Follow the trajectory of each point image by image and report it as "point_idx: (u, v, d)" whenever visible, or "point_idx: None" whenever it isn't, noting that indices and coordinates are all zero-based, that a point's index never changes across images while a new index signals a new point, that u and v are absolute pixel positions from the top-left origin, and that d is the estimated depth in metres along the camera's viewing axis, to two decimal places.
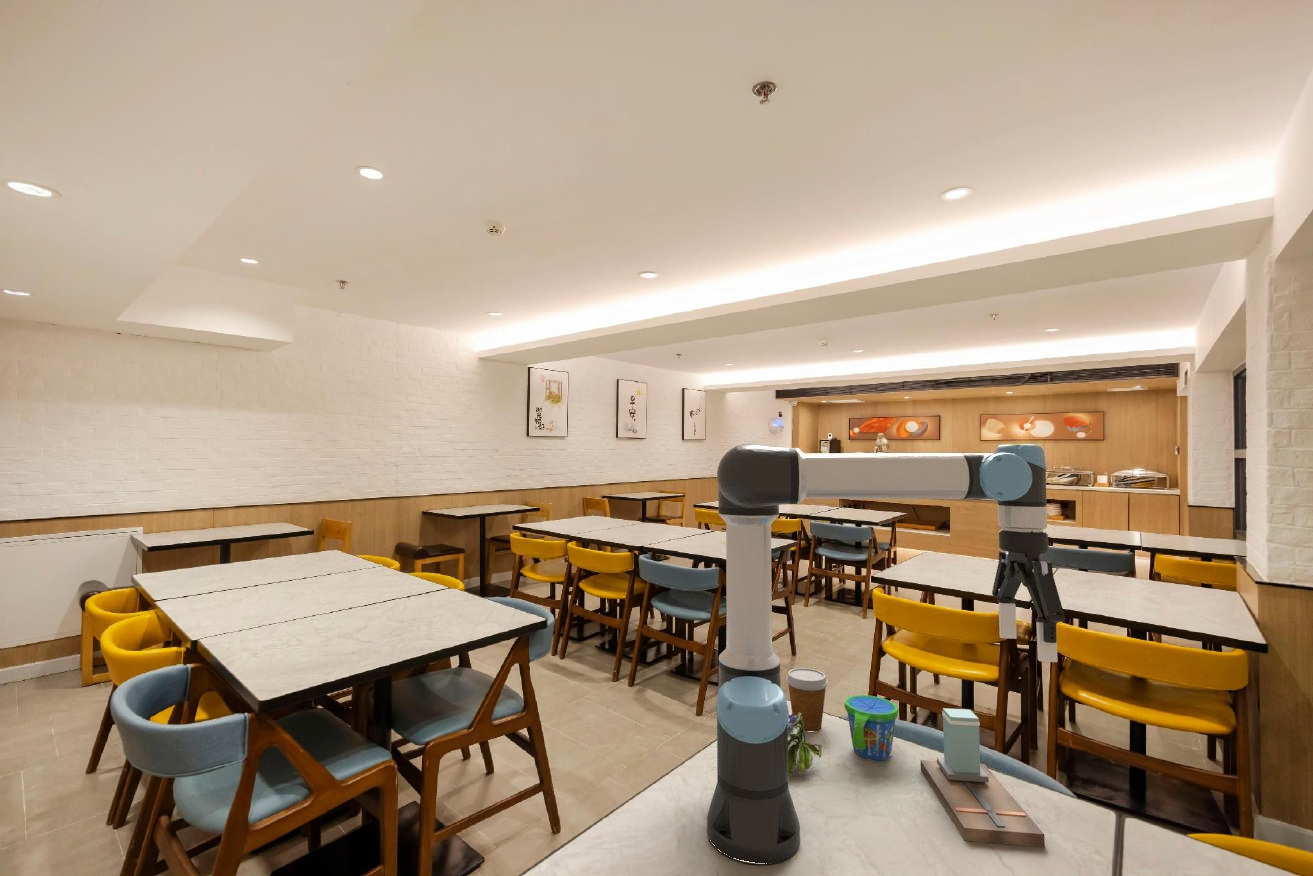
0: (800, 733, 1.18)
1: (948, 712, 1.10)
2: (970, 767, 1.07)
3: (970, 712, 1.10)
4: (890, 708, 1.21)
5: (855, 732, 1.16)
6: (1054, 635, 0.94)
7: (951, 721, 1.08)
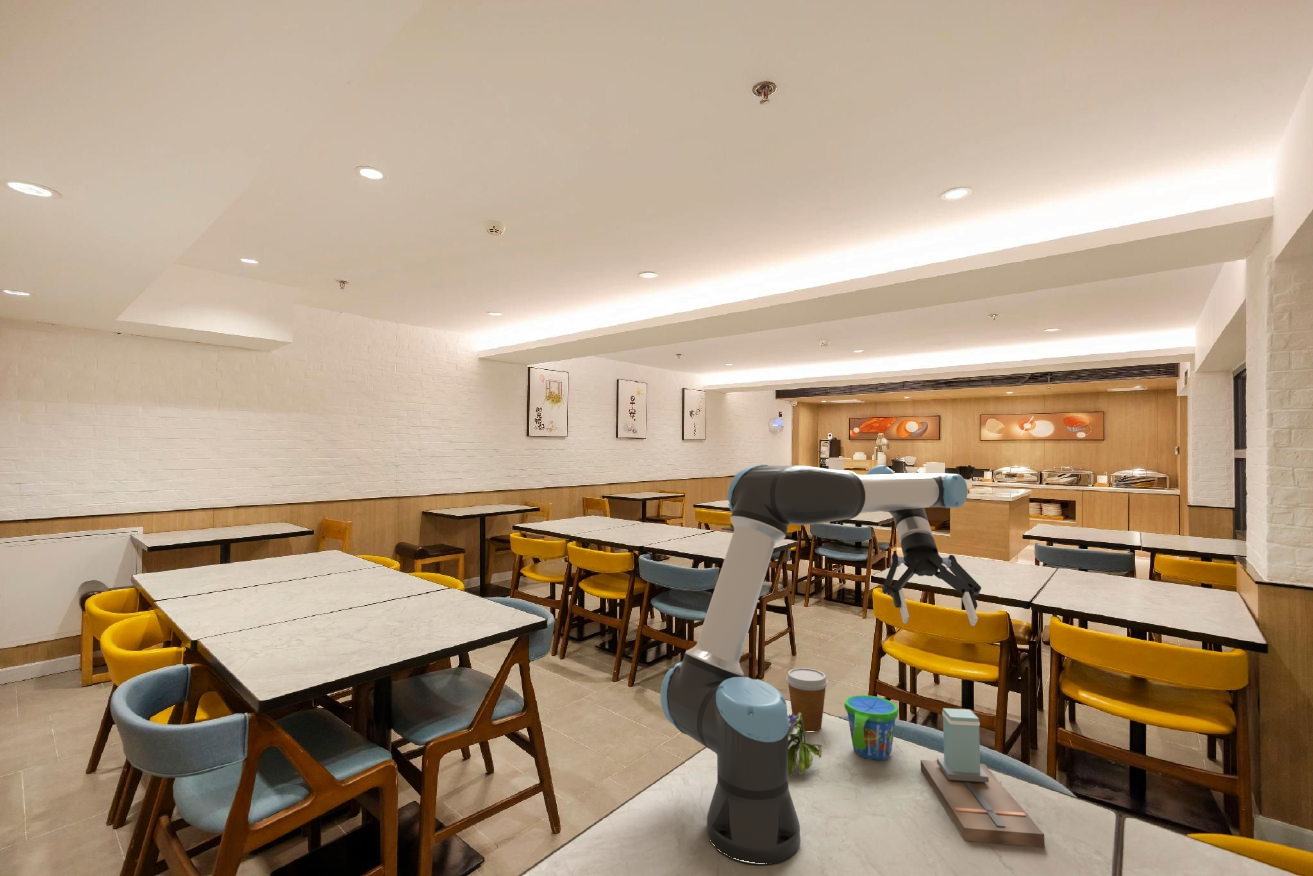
0: (800, 733, 1.18)
1: (948, 712, 1.10)
2: (970, 767, 1.07)
3: (970, 712, 1.10)
4: (889, 708, 1.21)
5: (855, 732, 1.16)
6: None
7: (951, 721, 1.08)
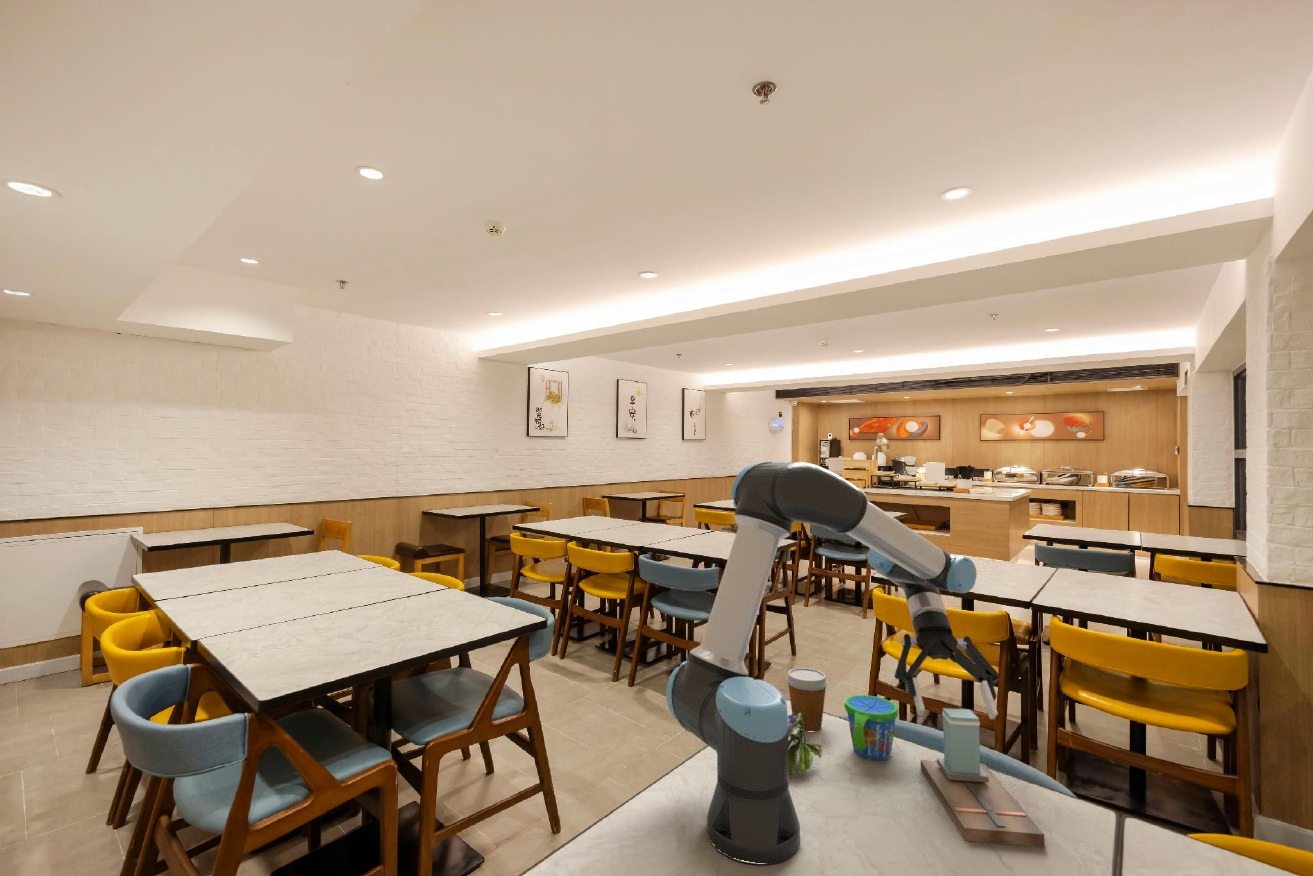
0: (800, 733, 1.18)
1: (948, 712, 1.10)
2: (970, 767, 1.07)
3: (970, 712, 1.10)
4: (889, 708, 1.21)
5: (855, 732, 1.16)
6: None
7: (951, 721, 1.08)
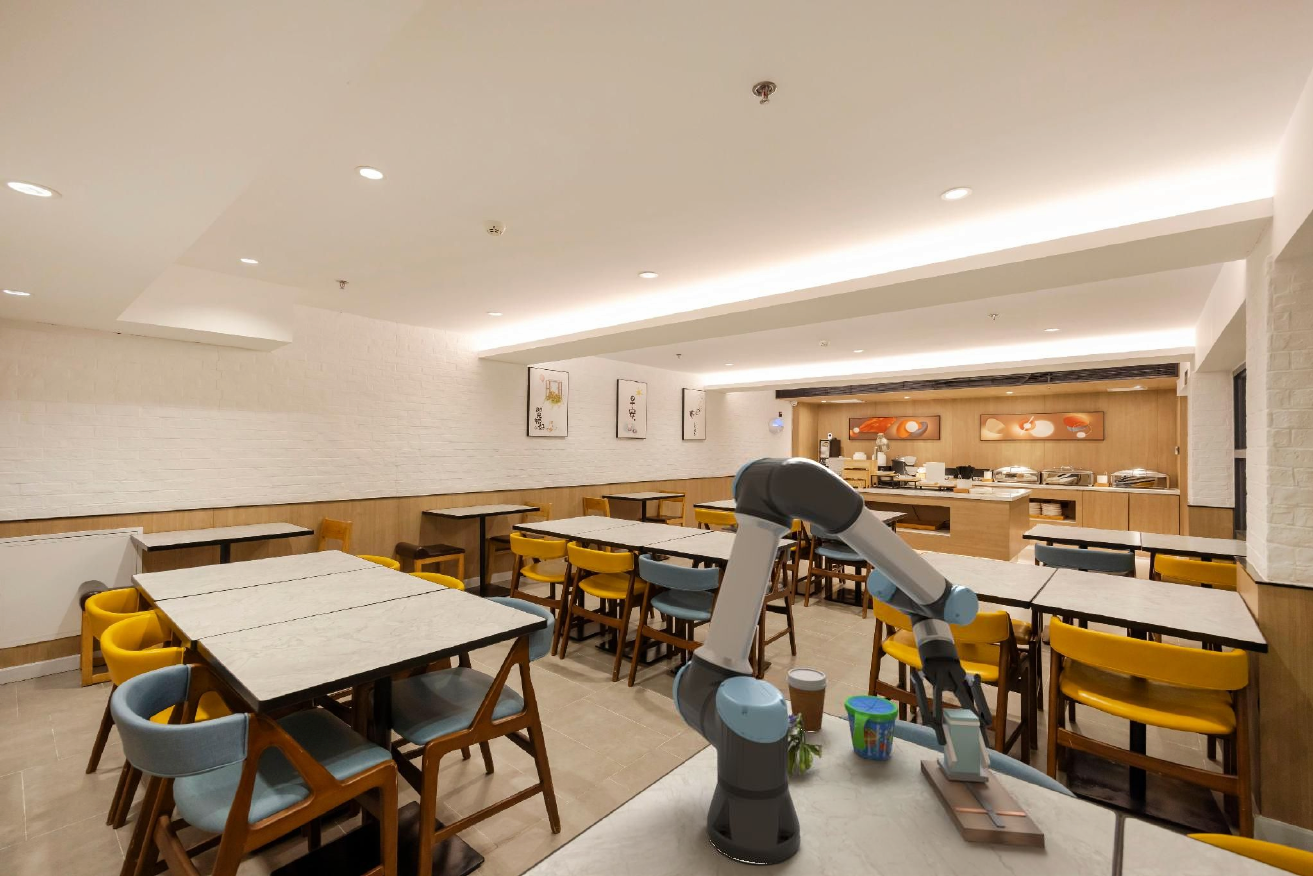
0: (800, 733, 1.18)
1: (948, 712, 1.10)
2: (970, 767, 1.07)
3: (970, 712, 1.10)
4: (890, 708, 1.21)
5: (855, 732, 1.16)
6: None
7: (951, 721, 1.08)
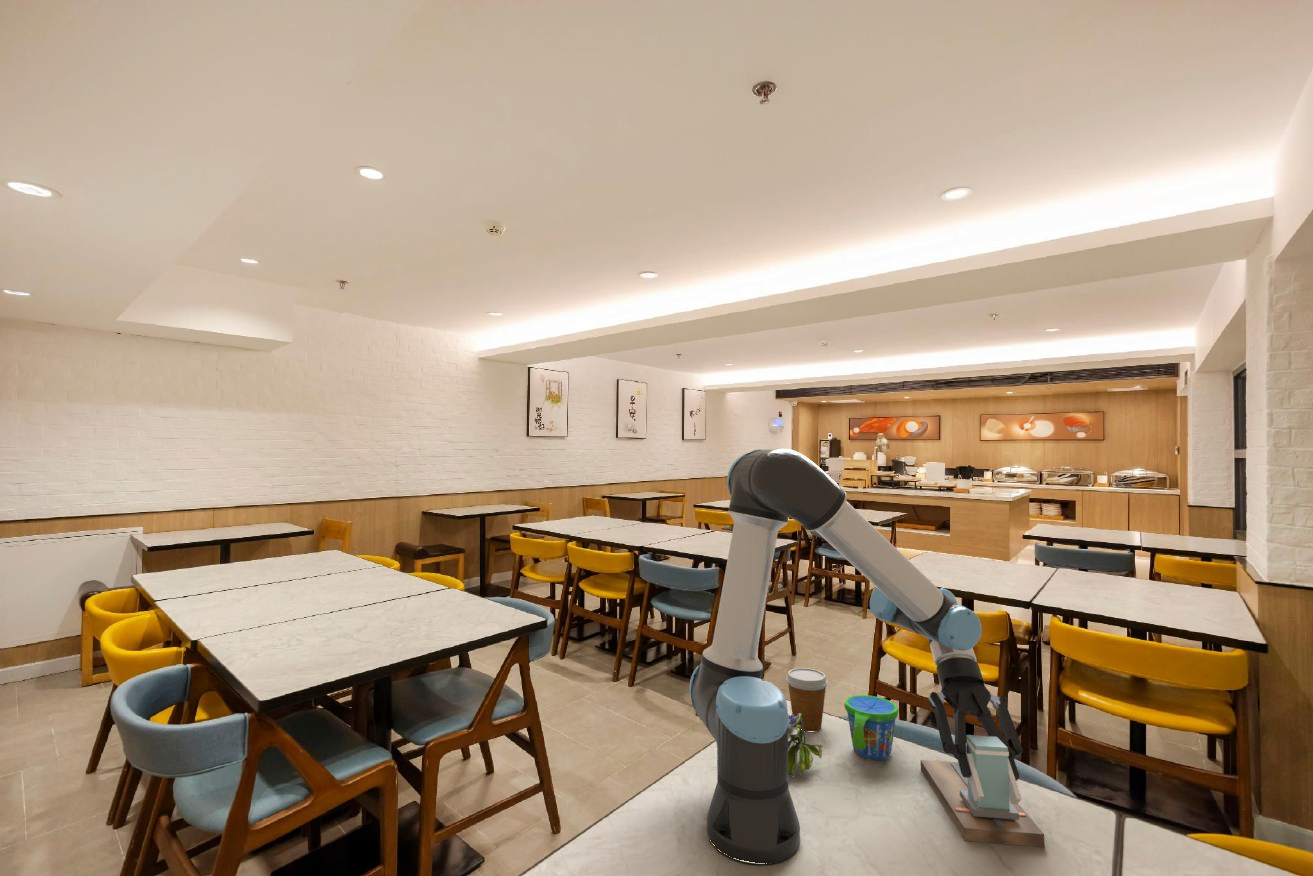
0: (800, 734, 1.18)
1: (973, 740, 0.98)
2: (998, 802, 0.96)
3: (997, 740, 0.98)
4: (890, 708, 1.21)
5: (855, 732, 1.16)
6: None
7: (976, 750, 0.96)
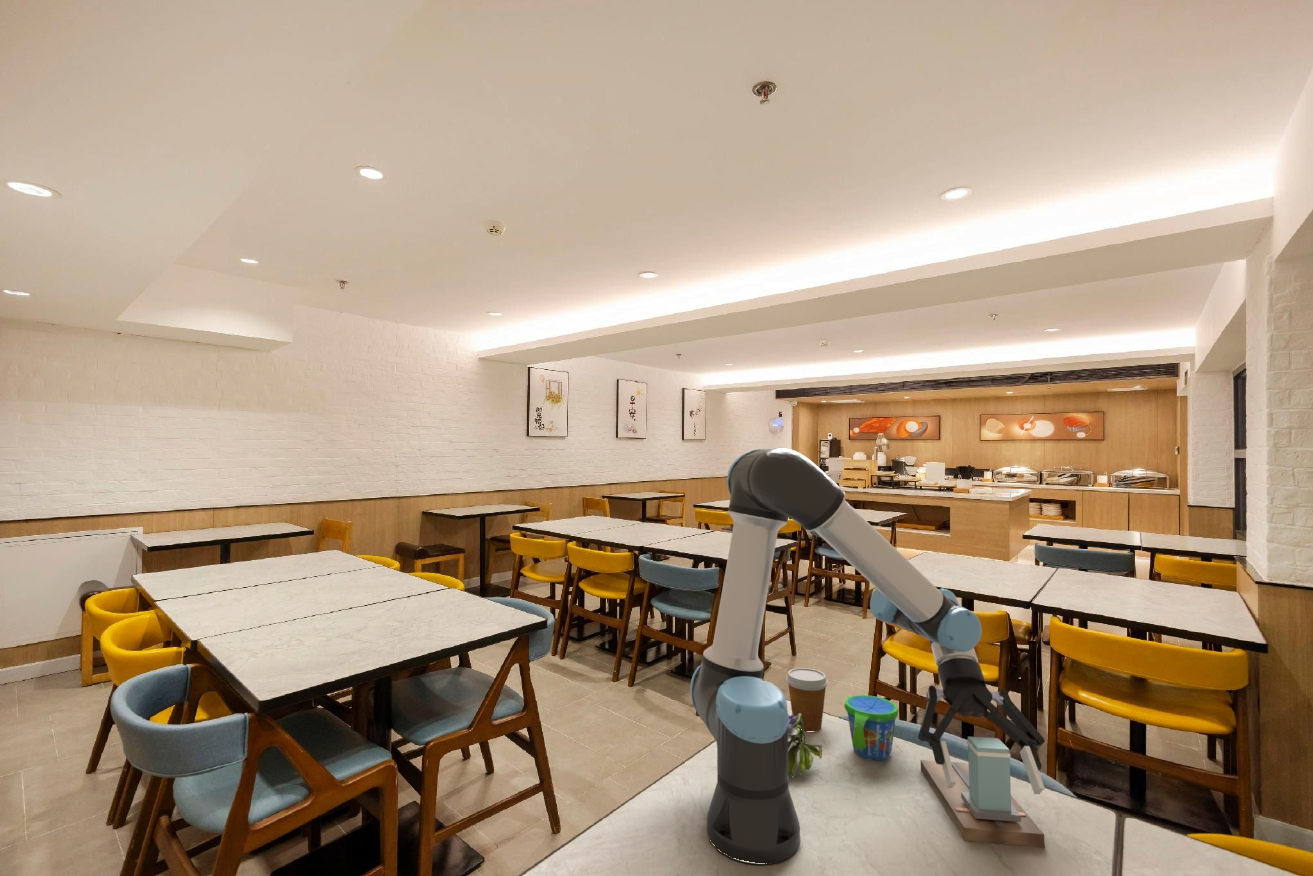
0: (800, 734, 1.18)
1: (974, 741, 0.98)
2: (1000, 804, 0.95)
3: (999, 741, 0.98)
4: (890, 708, 1.21)
5: (855, 732, 1.16)
6: None
7: (978, 752, 0.96)
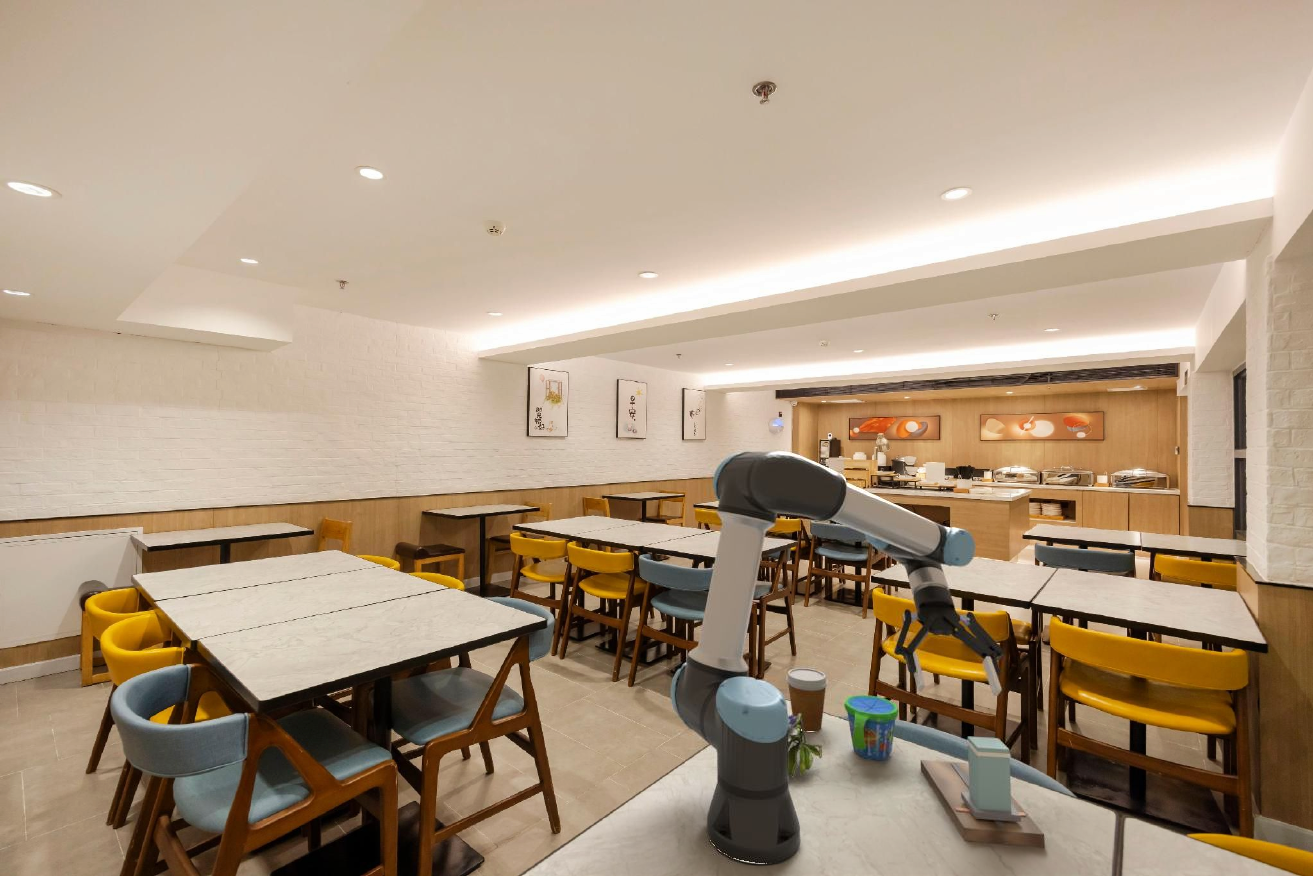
0: (800, 734, 1.18)
1: (974, 741, 0.98)
2: (1000, 804, 0.95)
3: (999, 741, 0.98)
4: (890, 708, 1.21)
5: (855, 732, 1.16)
6: None
7: (978, 752, 0.96)
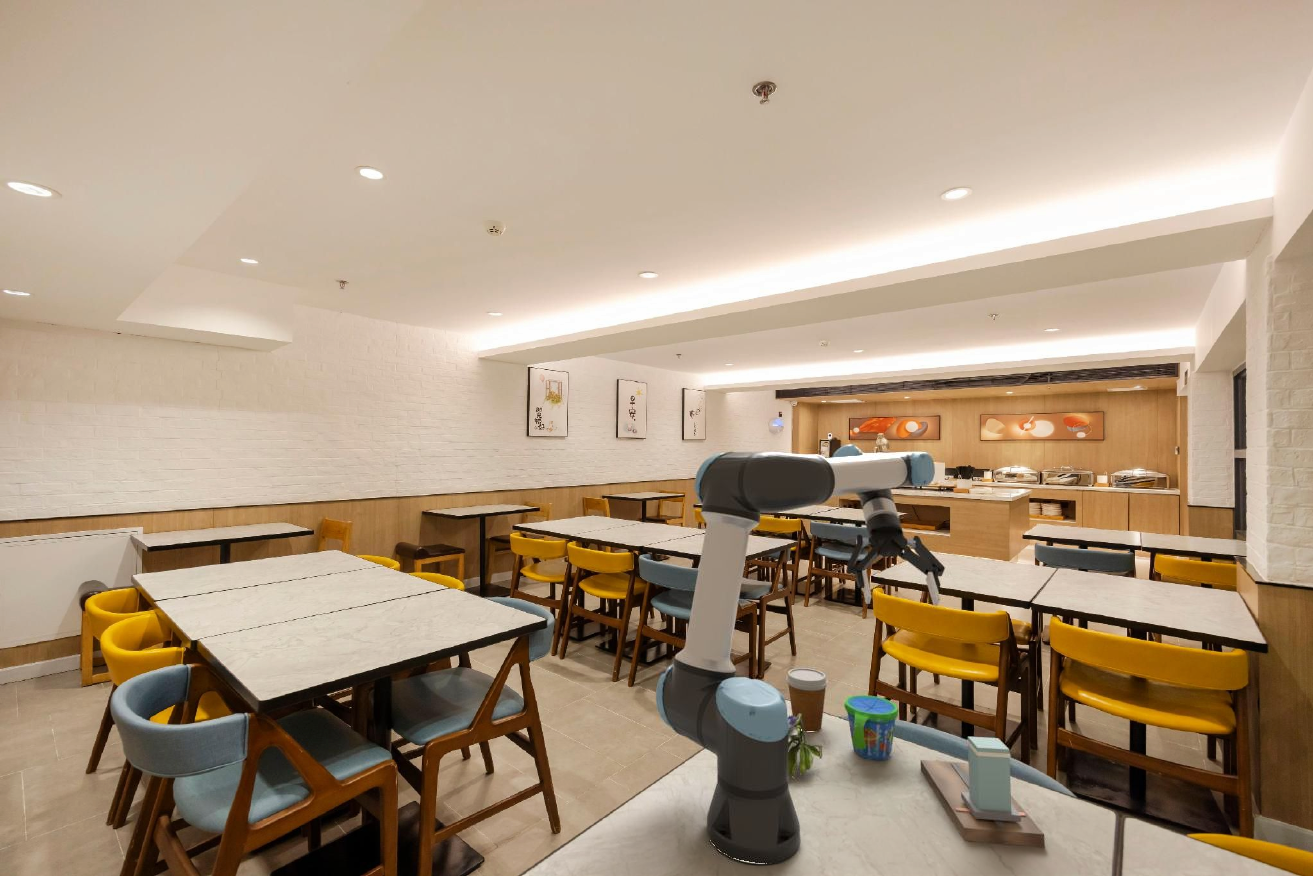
0: (800, 734, 1.18)
1: (974, 741, 0.98)
2: (1000, 804, 0.95)
3: (999, 741, 0.98)
4: (890, 708, 1.21)
5: (855, 732, 1.16)
6: None
7: (978, 752, 0.96)
